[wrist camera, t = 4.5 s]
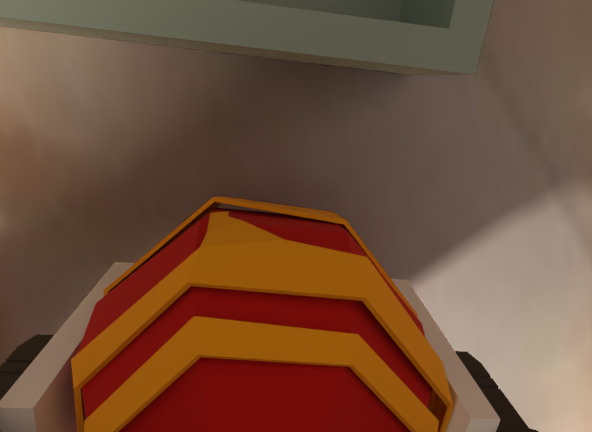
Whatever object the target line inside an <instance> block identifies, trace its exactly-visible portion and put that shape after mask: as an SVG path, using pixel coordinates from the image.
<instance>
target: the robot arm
mask: <svg viewBox="0 0 592 432" xmlns="http://www.w3.org/2000/svg"><path fill="white" fill-rule="evenodd" d="M134 264H135V263H126V262H114V264H113V265H112V266H111V267H110V268H109V270H108V271H107V272H106V273H105V274H104V276H103V277H102V278H101V279H100V281H99V282H98V283H97V284H96V285H95V287H94V288H93V289H92V290H91V291H90V293H89V294H88V295H87V296H86V297H85V299H84V300H83V301H82V302H81V303H80V305H79V306H78V307H77V308H76V310H75V311H74V312H73V313H72V314H71V316H70V317H69V318H68V319H67V320H66V322H65V323H64V324H63V325H62V326H61V328H60V329H59V330H58V331H57V333H56V334H55V335H36V336H34V337H32V338H31V339H29V340H28V341H26V342H24V343H23V344H21V345H20V346H18V347H17V349H16V350H15V351H14V352H13V353H12V354H11V355H10V356H9V357H8V358H7V359H6V362H5V363H3V364H2V365H1V366H0V432H77V421H76V410H75V399H74V388H73V377H72V366H71V359H72V358H73V357H74V356H75V355H76V354H77V353H78V350H79V347H80V345H81V342H82V339H83V337H84V334H85V331H86V328H87V326H88V323H89V320H90V317H91V315H92V312H93V309H94V306H95V304H96V303H97V302H98V301H99V300H100V299H102V298H103V295H104V289H105V288H107V287H108V286H109V285H110V284H111V283H112V282H114V281H115V280H116V279H117V278H118V277H119V276H121V275H122V274H123V273H124V272H125V271H127V270H128V269H129V268H130V267H131V266H132V265H134ZM391 280H392V281H393V282H394V284H395V285H396V286H397V288H398V289H399V290H400V292H401V293H402V294H403V296H404V297H405V298H406V300H407V301H408V302H409V304H410V305H411V306H412V308H413V309H414V310H415V312H416V313H417V314H418V315H417V318H418V319H419V321H420V322H421V323H422V326H423V330H424V333H425V337H426V340H427V341H428V342H429V344H430V345H431V347H432V348H433V349H434V351H435V352H436V354H437V355H438V356H439V358H440V359H441V361H442V362H443V365H444V369H445V373H446V378H447V382H448V386H449V390H450V394H451V399H452V403H453V410H452V413H451V416H450V419H449V422H448V425H447V428H446V431H445V432H538V431H536V430H533V429H529V428H528V426H527V425H526V424H525V422H524V421H523V420H522V418H521V417H520V416H519V414H518V413H517V411H516V410H515V409H514V407H513V406H512V405H511V403H510V402H509V401H508V399H507V398H506V396H505V395H504V394H503V392H502V391H501V390H500V389H498V386H497V384H496V383H495V382H494V380H493V379H492V378H490V375H489V373H488V372H487V371H486V369H485V368H484V367H483V365H482V364H481V363H480V362H479V361H478V360H476V359H475V358H474V357H473V356H472V355H470V354H469V353H468V352H459V351H454V349H453V348H452V346H451V345H450V343H449V342H448V340H447V339H446V337H445V336H444V334H443V333H442V331H441V330H440V328H439V327H438V326H437V324H436V323H435V321H434V320H433V318H432V317H431V315H430V314H429V312H428V311H427V309H426V308H425V306H424V305H423V303H422V302H421V300H420V299H419V297H418V296H417V294H416V293H415V291H414V290H413V288H412V287H411V285H410V284H409V282H408V281H407V280H401V279H391ZM431 394H432V393H431ZM430 400H431V397H430ZM429 405H430V401H429ZM429 405H428V410H429Z"/></svg>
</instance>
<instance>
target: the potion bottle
mask: <svg viewBox="0 0 592 432" xmlns="http://www.w3.org/2000/svg"><path fill="white" fill-rule="evenodd" d="M221 203H225V204H231V205H237V206H242V207H248V208H254V209H259V210H265V211H271V212H276V213H267V212H256V211H245V210H234V209H223V208H216V207H218V206H219V205H220V204H221ZM278 213H282V214H278ZM417 315H418V314H417V313H416V312H415V310H414V309H413V308H412V306H411V305H410V304H409V302H408V301H407V300H406V298H405V297H404V296H403V294H402V293H401V292H400V290H399V289H398V288H397V286H396V285H395V284H394V282H393V281H392V280H391V278H390V277H389V276H388V274H387V273H386V272H385V270H384V269H383V268H382V266H381V265H380V264H379V263H378V261H377V260H376V259H375V257H374V256H373V255H372V253H371V252H370V251H369V249H368V248H367V247H366V245H365V244H364V243H363V241H362V240H361V239H360V237H359V236H358V235H357V233H356V232H355V231H354V229H353V228H352V227H351V225H350V224H349V223H348V221H347V220H345V219H344V218H342V217H341V216H339V215H338V214H336V213H334V212H331V211H324V210H317V209H310V208H303V207H296V206H288V205H281V204H274V203H267V202H260V201H253V200H246V199H239V198H232V197H224V196H222V197H212V198H211V199H210V200H209V201H208V202H207V203H205V204H204V205H203V206H202V207H201V208H199V209H198V210H197V211H196V212H195V213H194V214H192V215H191V216H190V217H189V218H188V219H187V220H185V221H184V222H183V223H182V224H181V225H179V226H178V227H177V228H176V229H175V230H174V231H172V232H171V233H170V234H169V235H168V236H167V237H165V238H164V239H163V240H162V241H161V242H159V243H158V244H157V245H156V246H155V247H154V248H152V249H151V250H150V251H149V252H148V253H147V254H145V255H144V256H143V257H142V258H141V259H139V260H138V261H137V262H136V263H135V264H134V265H132V266H131V267H130V268H129V269H128V270H127V271H125V272H124V273H123V274H122V275H121V276H119V277H118V278H117V279H116V280H115V281H114V282H112V283H111V284H110V285H109V286H108V287H107V288H105V289H104V295H103V298H102V299H100V300H99V301H98V302H97V303H96V304H95V306H94V309H93V312H92V315H91V317H90V320H89V323H88V326H87V328H86V331H85V334H84V337H83V339H82V342H81V345H80V347H79V350H78V353H77V354H76V355H75V356H74V357H73V358H72V359H71V366H72V377H73V388H74V399H75V410H76V421H77V432H445V431H446V428H447V425H448V422H449V419H450V416H451V413H452V410H453V403H452V399H451V394H450V390H449V386H448V382H447V378H446V373H445V369H444V365H443V362H442V361H441V359H440V358H439V356H438V355H437V354H436V352H435V351H434V349H433V348H432V347H431V345H430V344H429V342H428V341H427V340H426V337H425V333H424V330H423V326H422V323H421V322H420V321H419V319H418V318H417ZM431 393H432V394H431ZM430 397H431V400H430ZM429 401H430V405H429ZM428 405H429V410H428Z"/></svg>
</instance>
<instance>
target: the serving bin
mask: <svg viewBox="0 0 592 432" xmlns="http://www.w3.org/2000/svg"><path fill="white" fill-rule="evenodd" d="M493 2H494V0H0V26H4V27H12V28H20V29H29V30H37V31H46V32H54V33H63V34H71V35H79V36H88V37H96V38H105V39H113V40H122V41H130V42H138V43H147V44H155V45H164V46H172V47H181V48H189V49H197V50H206V51H214V52H223V53H231V54H240V55H248V56H257V57H265V58H273V59H282V60H290V61H299V62H307V63H316V64H324V65H332V66H341V67H349V68H358V69H366V70H375V71H383V72H391V73H400V74H408V75H451V74H475V73H476V69H477V65H478V61H479V57H480V54H481V50H482V46H483V42H484V38H485V34H486V30H487V26H488V22H489V18H490V14H491V10H492V6H493Z"/></svg>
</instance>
